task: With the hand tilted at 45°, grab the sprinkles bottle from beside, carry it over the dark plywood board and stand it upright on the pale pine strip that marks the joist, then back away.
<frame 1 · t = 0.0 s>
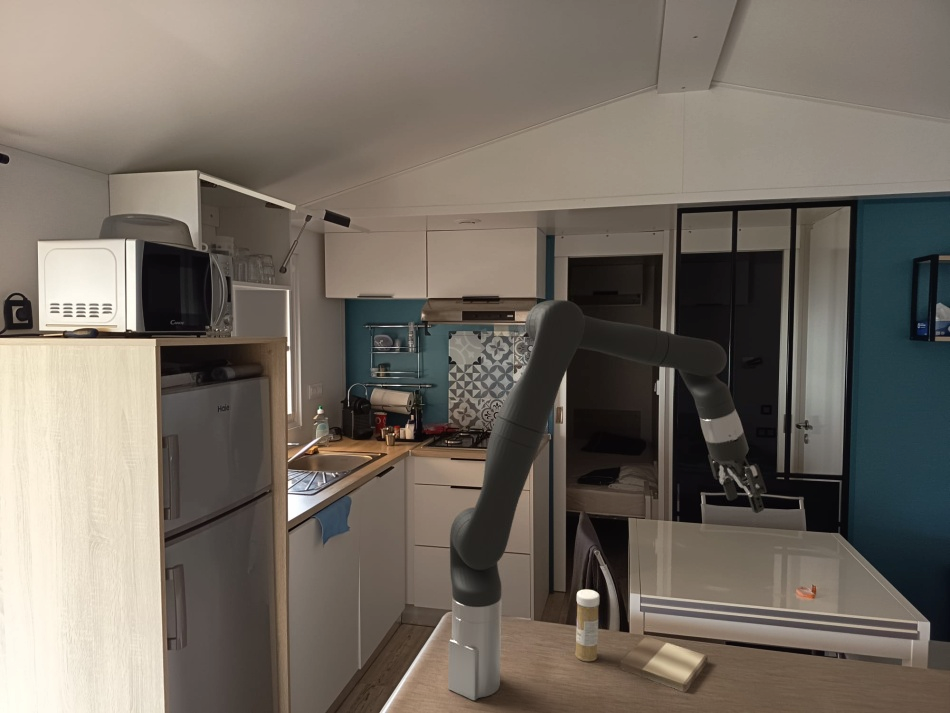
hand: (745, 504, 135), 31 cm above the table, tool tilted 20°, fingers open, 8 cm apart
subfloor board: (664, 665, 132), on the table
sprinkles bottle: (586, 657, 135), on the table
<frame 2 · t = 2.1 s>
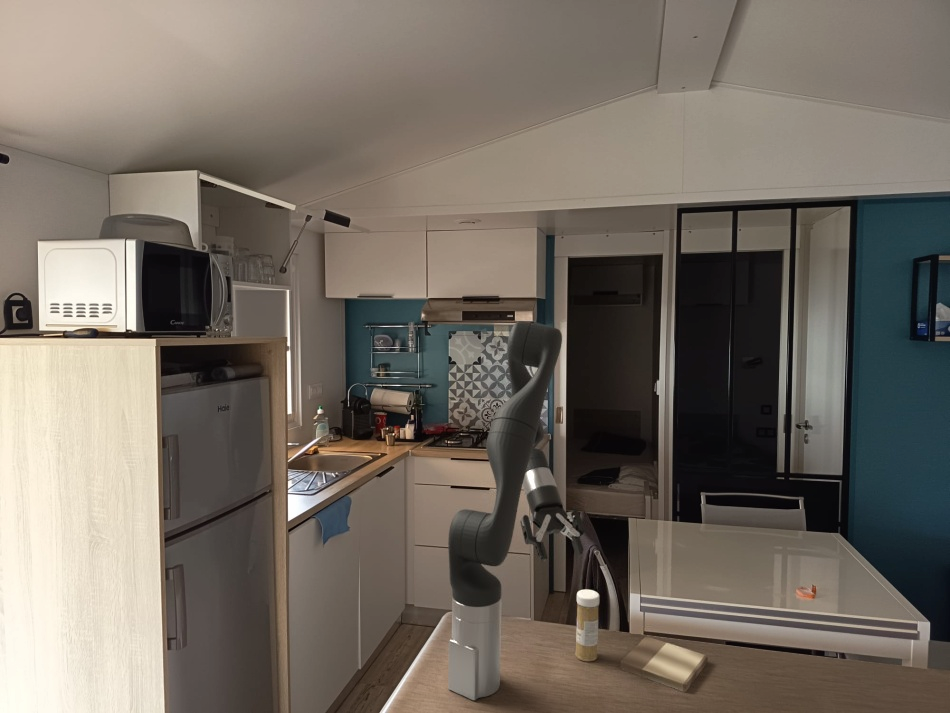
hand: (562, 557, 145), 17 cm above the table, tool tilted 45°, fingers open, 8 cm apart
nothing on the table moved.
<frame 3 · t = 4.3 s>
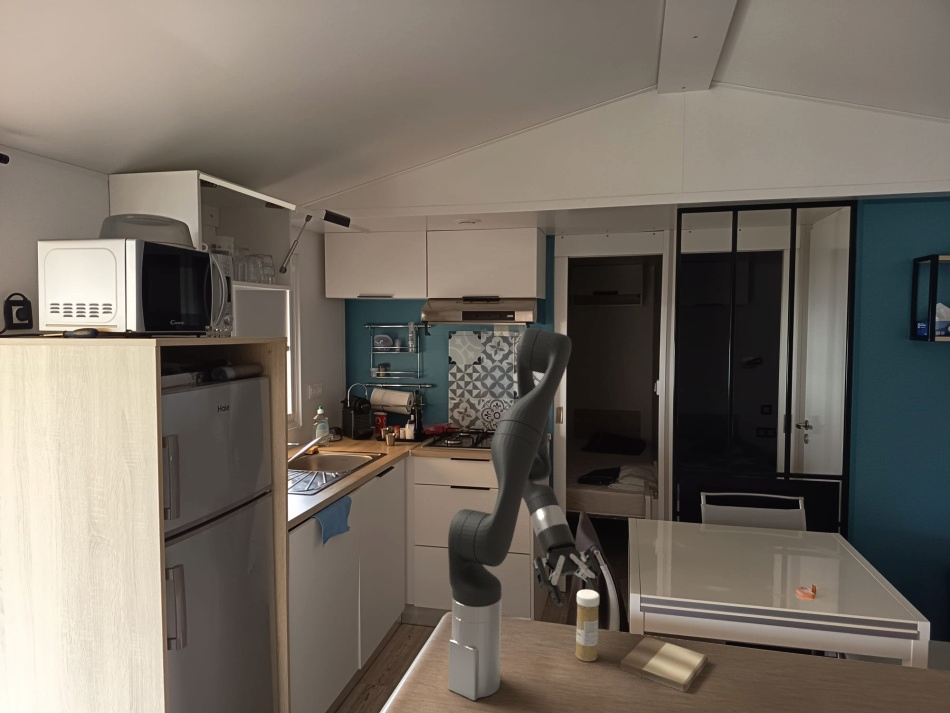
hand: (578, 601, 137), 10 cm above the table, tool tilted 45°, fingers open, 8 cm apart
nothing on the table moved.
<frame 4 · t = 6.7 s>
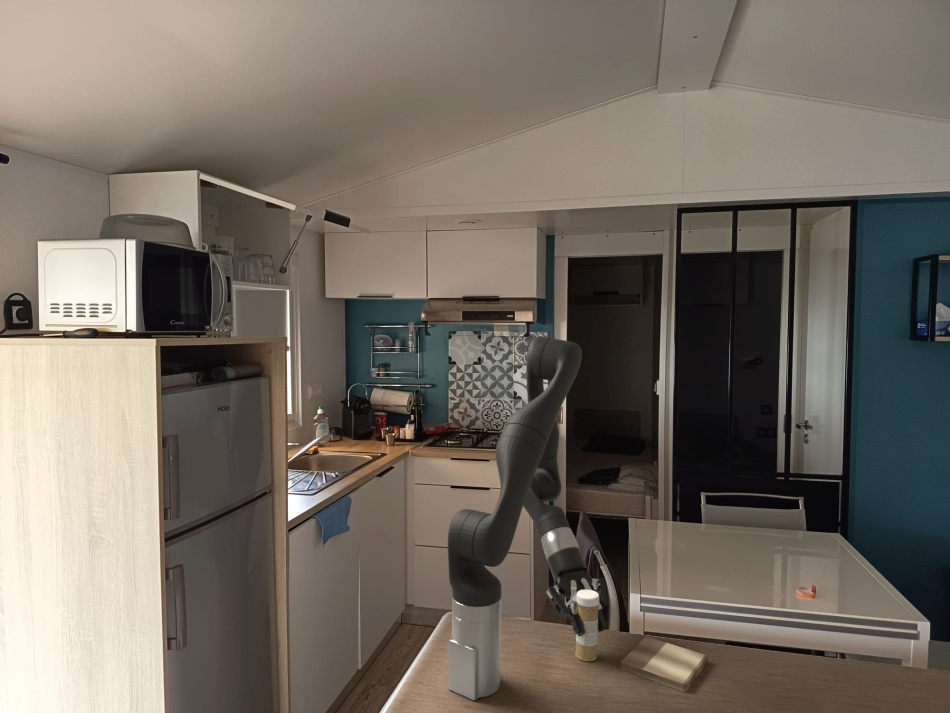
hand: (592, 632, 133), 6 cm above the table, tool tilted 45°, fingers closed on sprinkles bottle, 4 cm apart
sprinkles bottle: (586, 657, 135), on the table, touching gripper
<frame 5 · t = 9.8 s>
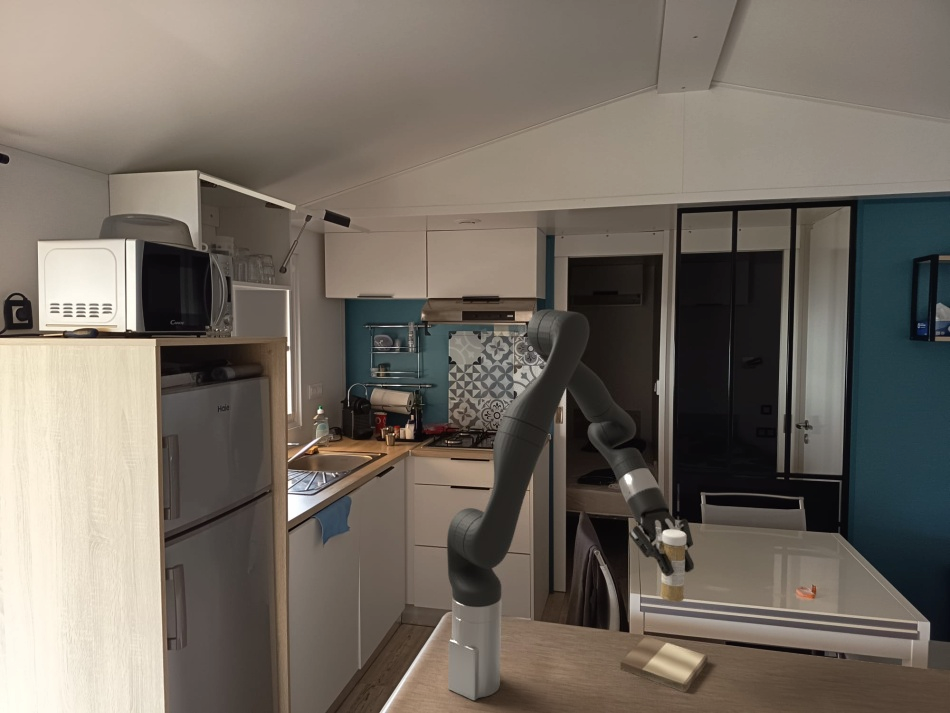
hand: (680, 572, 129), 20 cm above the table, tool tilted 45°, fingers closed on sprinkles bottle, 4 cm apart
sprinkles bottle: (672, 599, 131), point 14 cm above the table, touching gripper
when the fingers open (9 cm above the table, at t = 12.8 s): sprinkles bottle stays where it is, resting on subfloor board.
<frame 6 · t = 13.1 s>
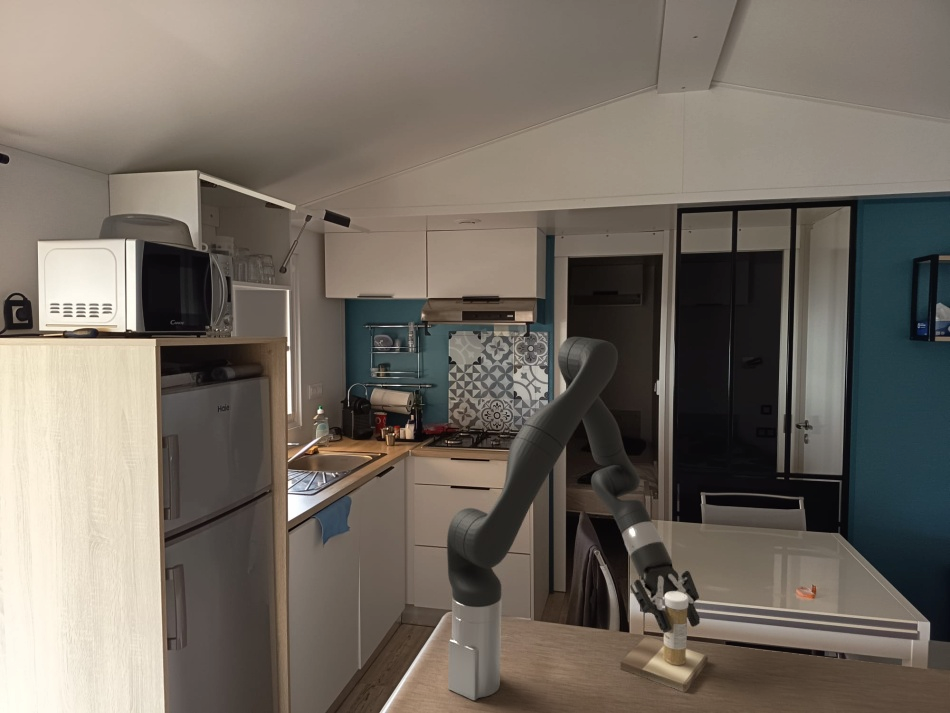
hand: (682, 627, 129), 9 cm above the table, tool tilted 45°, fingers open, 6 cm apart
sprinkles bottle: (674, 661, 131), point 1 cm above the table, touching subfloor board
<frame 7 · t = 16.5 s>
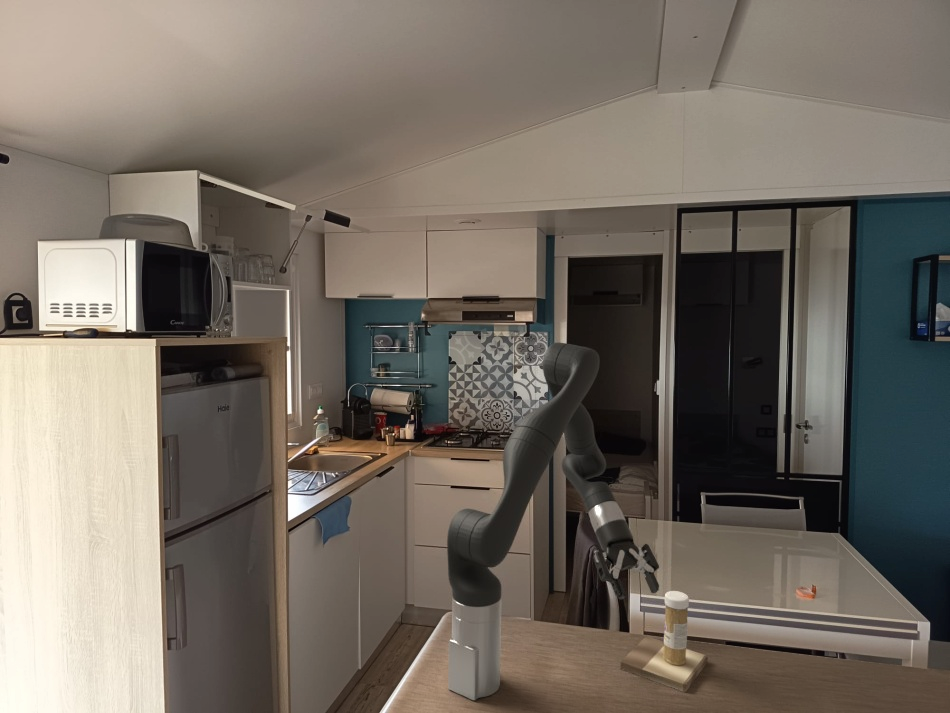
hand: (639, 594, 141), 10 cm above the table, tool tilted 45°, fingers open, 8 cm apart
nothing on the table moved.
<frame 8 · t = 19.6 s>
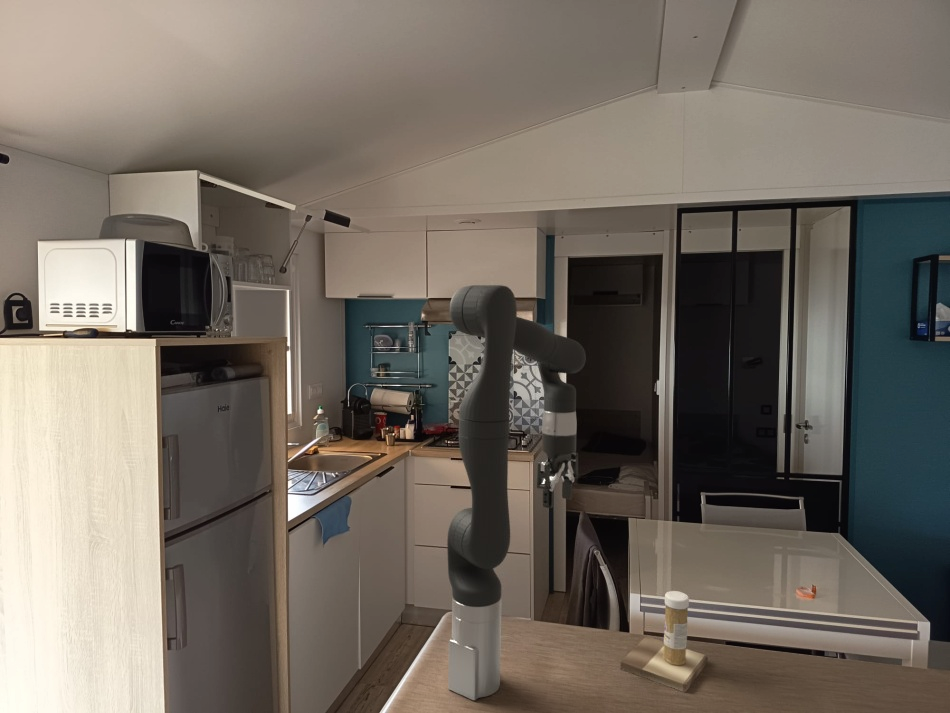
hand: (557, 502, 147), 28 cm above the table, tool pointing down, fingers open, 8 cm apart
nothing on the table moved.
at the end: sprinkles bottle inside the target area (0.3 cm from its centre), point 1.3 cm above the table; sprinkles bottle tilted 0°; the gripper is holding nothing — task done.
